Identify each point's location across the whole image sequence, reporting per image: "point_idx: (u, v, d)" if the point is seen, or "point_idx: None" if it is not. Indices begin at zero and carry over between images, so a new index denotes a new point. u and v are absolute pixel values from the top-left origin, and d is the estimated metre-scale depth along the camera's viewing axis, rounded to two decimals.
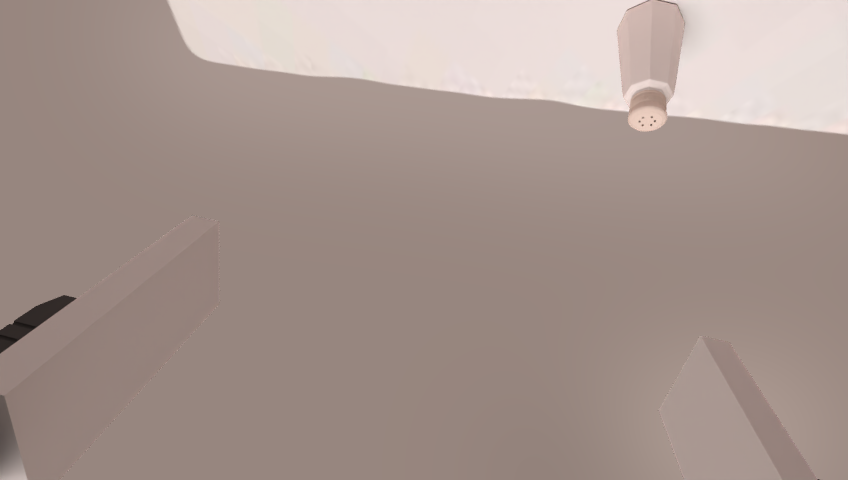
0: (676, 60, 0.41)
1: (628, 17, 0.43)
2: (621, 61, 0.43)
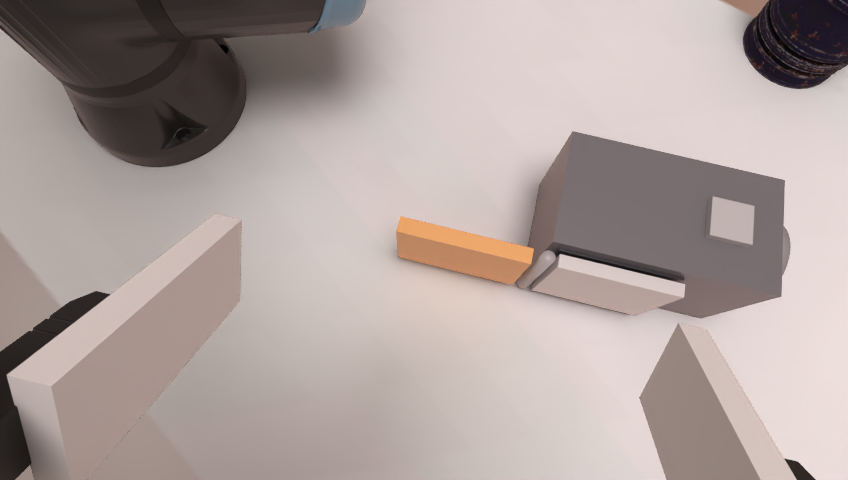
0: None
1: None
2: None
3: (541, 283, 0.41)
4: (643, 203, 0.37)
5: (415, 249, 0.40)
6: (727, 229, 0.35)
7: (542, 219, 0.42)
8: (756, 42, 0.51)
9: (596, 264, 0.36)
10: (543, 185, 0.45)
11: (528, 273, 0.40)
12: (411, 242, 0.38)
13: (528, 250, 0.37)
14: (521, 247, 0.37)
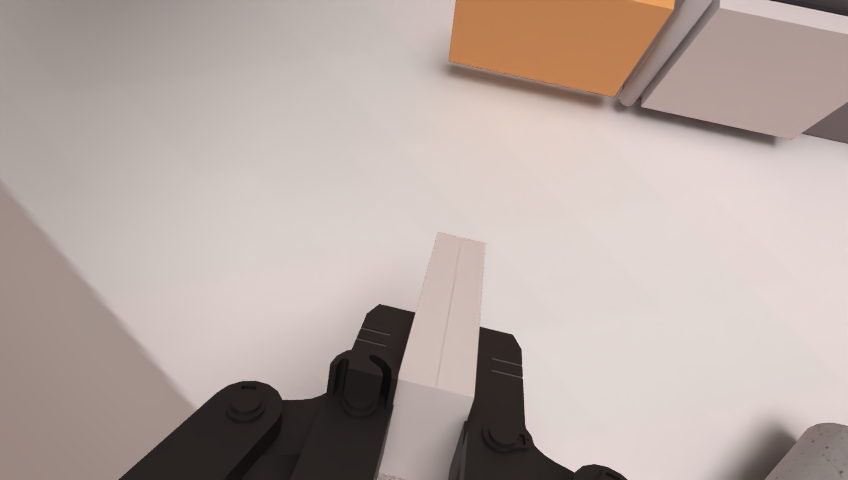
0: None
1: None
2: None
3: (666, 80, 0.28)
4: None
5: (481, 24, 0.27)
6: None
7: None
8: None
9: (779, 4, 0.23)
10: None
11: (651, 57, 0.27)
12: None
13: None
14: None
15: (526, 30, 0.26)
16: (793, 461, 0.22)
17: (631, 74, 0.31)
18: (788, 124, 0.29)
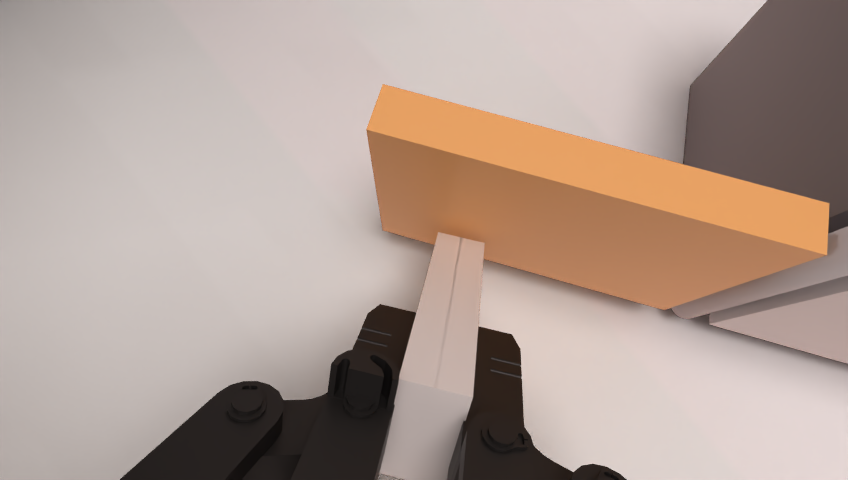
0: None
1: None
2: None
3: (767, 313, 0.15)
4: None
5: (427, 205, 0.14)
6: None
7: (753, 141, 0.16)
8: None
9: None
10: (716, 76, 0.20)
11: (745, 284, 0.14)
12: (415, 177, 0.13)
13: (811, 208, 0.11)
14: (786, 197, 0.11)
15: (510, 225, 0.14)
16: None
17: None
18: None
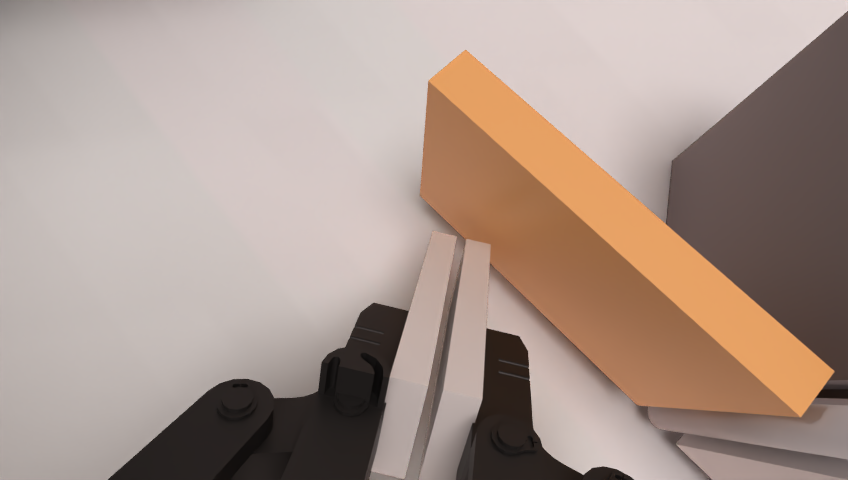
0: None
1: None
2: None
3: (731, 460, 0.14)
4: None
5: (460, 185, 0.14)
6: None
7: (735, 253, 0.15)
8: None
9: None
10: (698, 161, 0.18)
11: (721, 417, 0.13)
12: (456, 151, 0.13)
13: (812, 366, 0.10)
14: (792, 342, 0.10)
15: (523, 241, 0.14)
16: None
17: None
18: None
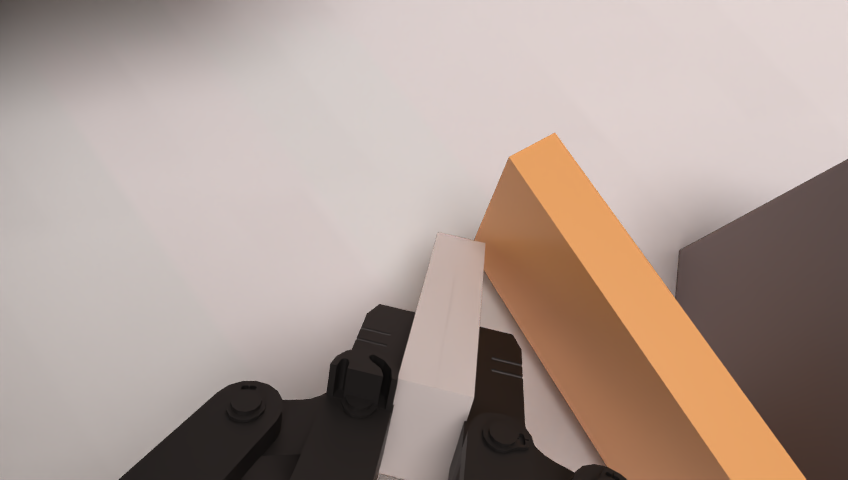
0: None
1: None
2: None
3: None
4: None
5: (514, 258, 0.14)
6: None
7: (750, 385, 0.14)
8: None
9: None
10: (708, 260, 0.17)
11: None
12: (520, 228, 0.12)
13: None
14: None
15: (566, 333, 0.13)
16: None
17: None
18: None
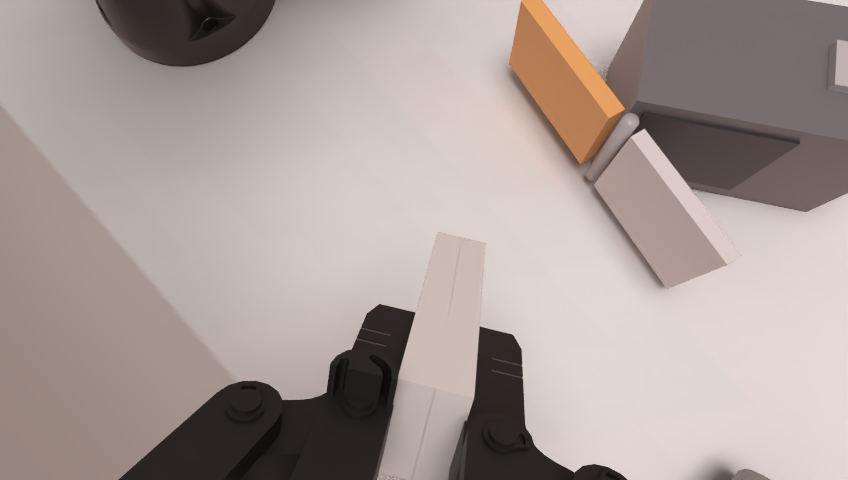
0: None
1: None
2: None
3: (605, 173, 0.35)
4: (747, 54, 0.30)
5: (525, 50, 0.36)
6: None
7: (616, 95, 0.36)
8: None
9: (669, 165, 0.29)
10: (614, 64, 0.39)
11: None
12: (526, 31, 0.35)
13: (618, 106, 0.31)
14: (614, 98, 0.31)
15: (544, 73, 0.36)
16: None
17: (596, 154, 0.38)
18: (664, 271, 0.35)
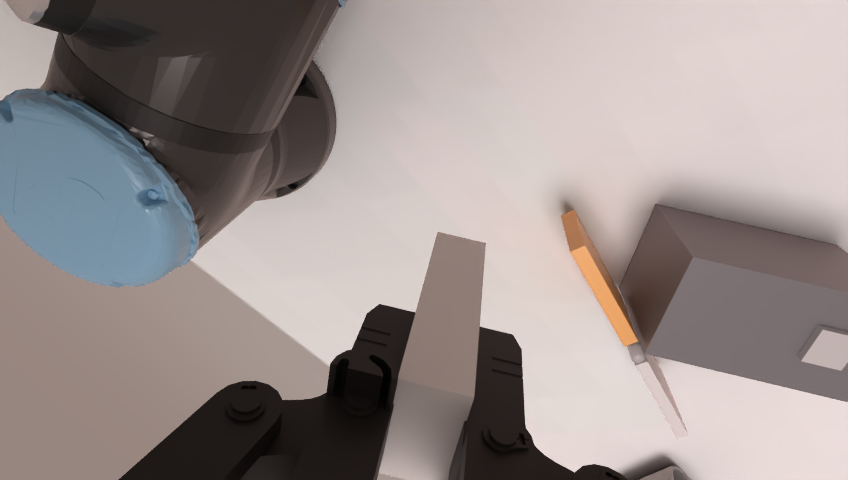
0: None
1: None
2: None
3: None
4: (745, 326, 0.38)
5: None
6: (822, 357, 0.37)
7: (645, 279, 0.43)
8: None
9: (658, 384, 0.42)
10: (657, 223, 0.44)
11: None
12: None
13: (633, 339, 0.41)
14: (632, 333, 0.41)
15: None
16: None
17: (624, 289, 0.48)
18: None
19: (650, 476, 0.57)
